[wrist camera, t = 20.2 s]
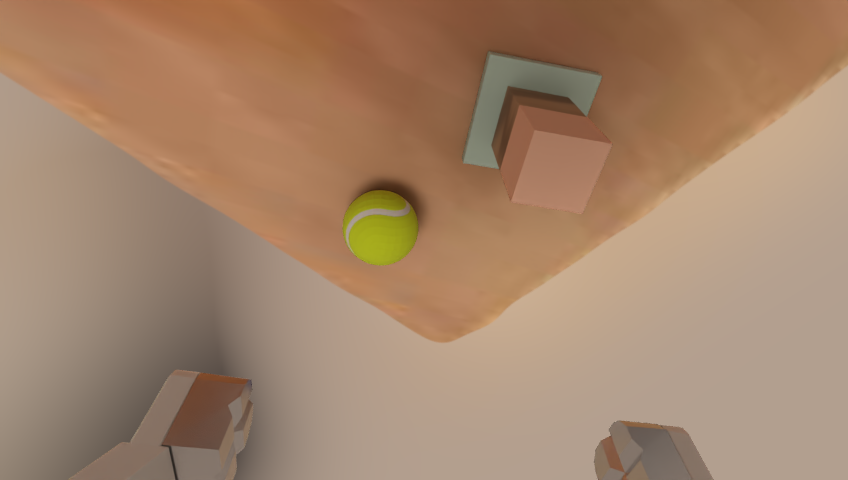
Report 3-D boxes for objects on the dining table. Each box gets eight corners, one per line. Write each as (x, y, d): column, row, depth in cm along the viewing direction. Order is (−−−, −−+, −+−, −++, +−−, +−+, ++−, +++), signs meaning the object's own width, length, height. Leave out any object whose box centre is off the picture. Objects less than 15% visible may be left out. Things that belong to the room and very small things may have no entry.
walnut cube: (507, 85, 35) (519, 105, 31) (568, 97, 36) (587, 117, 32) (491, 145, 38) (499, 170, 34) (547, 155, 39) (563, 181, 34)
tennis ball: (342, 229, 44) (330, 271, 39) (355, 169, 41) (344, 205, 35) (408, 244, 45) (406, 287, 40) (426, 187, 42) (427, 225, 36)
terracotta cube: (519, 104, 31) (534, 130, 27) (587, 117, 32) (613, 144, 28) (499, 170, 34) (510, 202, 30) (563, 180, 34) (582, 213, 30)
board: (488, 51, 35) (490, 54, 34) (597, 72, 36) (602, 76, 35) (462, 157, 40) (463, 162, 39) (558, 173, 41) (562, 179, 40)
